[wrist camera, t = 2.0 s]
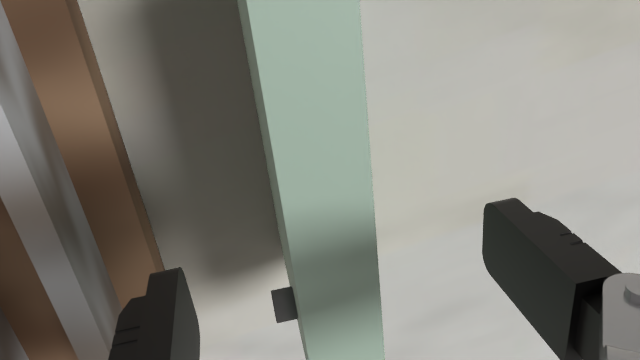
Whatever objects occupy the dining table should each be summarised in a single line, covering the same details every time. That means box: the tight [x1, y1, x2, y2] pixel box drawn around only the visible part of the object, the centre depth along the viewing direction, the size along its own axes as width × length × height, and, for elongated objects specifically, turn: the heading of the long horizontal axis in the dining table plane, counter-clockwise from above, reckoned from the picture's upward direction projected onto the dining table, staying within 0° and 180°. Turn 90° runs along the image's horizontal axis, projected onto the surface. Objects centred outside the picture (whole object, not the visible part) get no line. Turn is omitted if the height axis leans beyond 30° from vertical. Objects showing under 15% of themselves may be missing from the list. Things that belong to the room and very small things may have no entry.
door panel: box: [237, 0, 385, 360], centre depth 18 cm, size 14×3×10 cm, turn 7°
